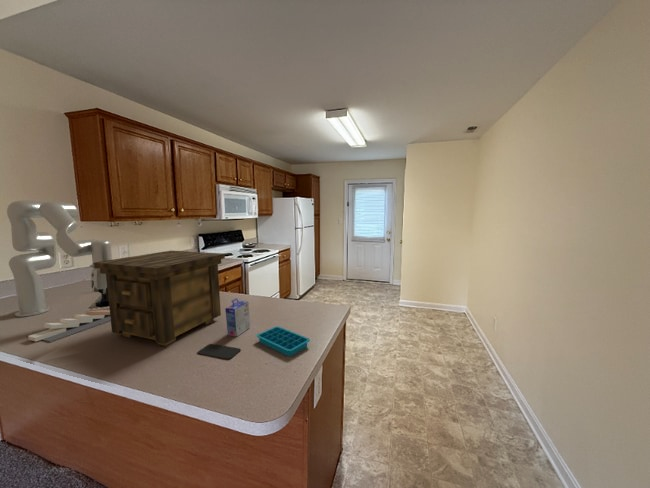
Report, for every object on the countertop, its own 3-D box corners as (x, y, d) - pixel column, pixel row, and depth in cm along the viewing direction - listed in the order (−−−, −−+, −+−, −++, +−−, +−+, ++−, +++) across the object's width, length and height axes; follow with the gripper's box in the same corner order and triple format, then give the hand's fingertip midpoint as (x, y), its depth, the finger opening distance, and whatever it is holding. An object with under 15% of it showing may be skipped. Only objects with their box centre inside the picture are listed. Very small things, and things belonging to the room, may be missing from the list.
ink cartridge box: (240, 325, 122) (239, 295, 120) (250, 327, 120) (249, 296, 118) (226, 335, 112) (224, 302, 111) (237, 337, 111) (235, 304, 109)
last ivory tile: (59, 329, 118) (28, 339, 108) (59, 326, 118) (28, 336, 108) (66, 331, 116) (35, 341, 107) (65, 327, 116) (35, 337, 107)
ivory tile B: (85, 321, 127) (59, 322, 118) (86, 317, 127) (60, 318, 118) (92, 322, 125) (66, 323, 116) (93, 318, 126) (67, 320, 116)
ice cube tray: (277, 332, 115) (277, 325, 115) (311, 346, 103) (311, 339, 102) (255, 342, 106) (255, 335, 106) (289, 359, 94) (289, 351, 94)
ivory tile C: (71, 325, 122) (43, 327, 113) (72, 321, 122) (44, 323, 113) (78, 326, 120) (50, 328, 111) (79, 323, 121) (51, 324, 111)
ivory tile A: (97, 317, 132) (73, 318, 122) (98, 313, 132) (74, 314, 123) (103, 318, 130) (80, 319, 121) (104, 315, 130) (81, 316, 121)
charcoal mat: (26, 336, 112) (26, 335, 112) (110, 309, 143) (110, 308, 143) (50, 342, 107) (50, 341, 107) (132, 313, 138) (132, 312, 138)
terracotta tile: (107, 313, 136) (85, 314, 127) (108, 310, 137) (86, 310, 127) (114, 314, 135) (92, 315, 125) (115, 311, 135) (93, 312, 126)
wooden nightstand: (228, 318, 130) (224, 253, 126) (163, 353, 98) (156, 268, 94) (175, 309, 142) (171, 250, 138) (102, 339, 110) (94, 262, 106)
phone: (210, 343, 105) (242, 348, 100) (210, 345, 105) (242, 350, 100) (195, 352, 98) (229, 359, 93) (195, 354, 98) (229, 361, 93)
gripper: (90, 268, 123) (94, 306, 125) (123, 263, 137) (126, 296, 139) (80, 267, 125) (84, 304, 128) (113, 262, 139) (117, 295, 142)
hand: (106, 300), depth 133 cm, fingers closed
